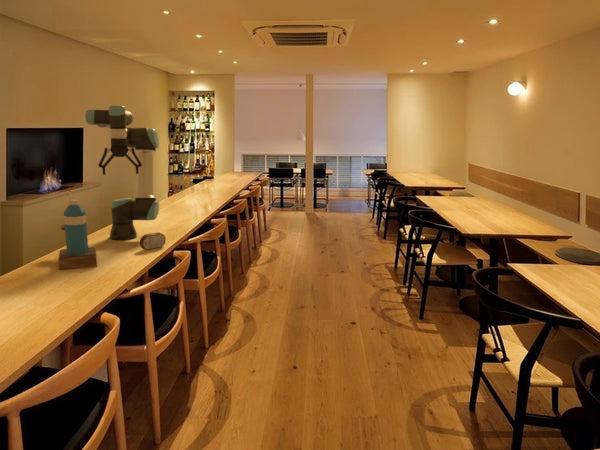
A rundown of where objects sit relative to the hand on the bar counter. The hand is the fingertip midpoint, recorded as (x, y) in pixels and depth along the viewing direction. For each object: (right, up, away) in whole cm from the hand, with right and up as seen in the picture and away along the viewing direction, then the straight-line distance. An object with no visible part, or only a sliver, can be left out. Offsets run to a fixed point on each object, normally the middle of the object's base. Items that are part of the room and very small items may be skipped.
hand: (121, 181), depth 243 cm
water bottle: (-17, -35, -10) cm, 40 cm away
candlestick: (-28, -37, +10) cm, 47 cm away
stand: (-17, -41, -9) cm, 45 cm away
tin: (+9, -35, +22) cm, 43 cm away
